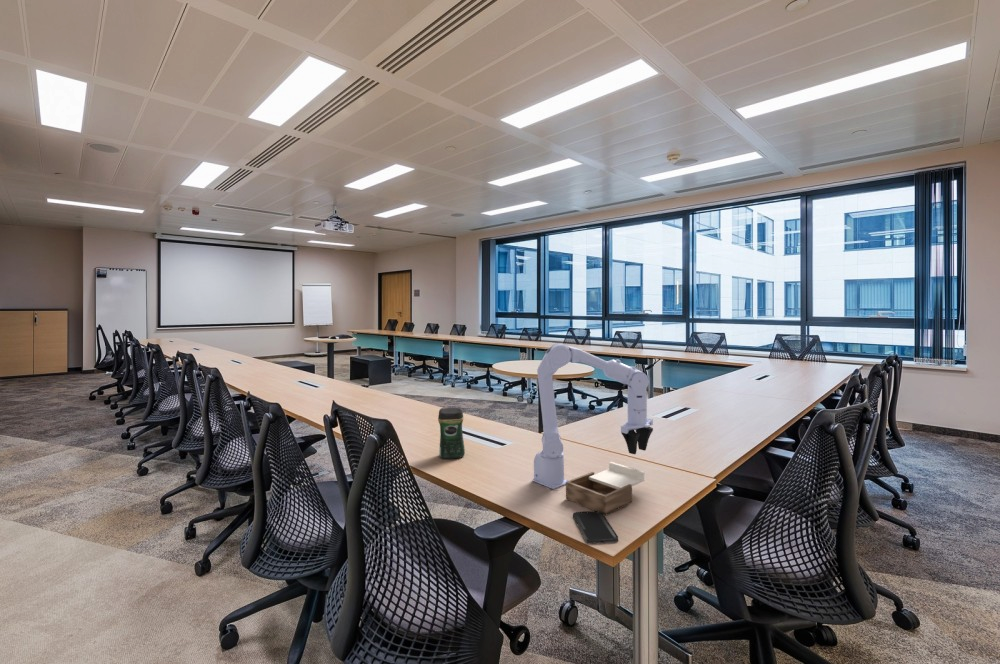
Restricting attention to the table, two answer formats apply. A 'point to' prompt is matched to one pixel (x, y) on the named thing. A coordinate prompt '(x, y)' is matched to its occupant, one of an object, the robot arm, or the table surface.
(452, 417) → the coffee jar
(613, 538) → the phone
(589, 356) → the robot arm
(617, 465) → the lid
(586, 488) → the box
